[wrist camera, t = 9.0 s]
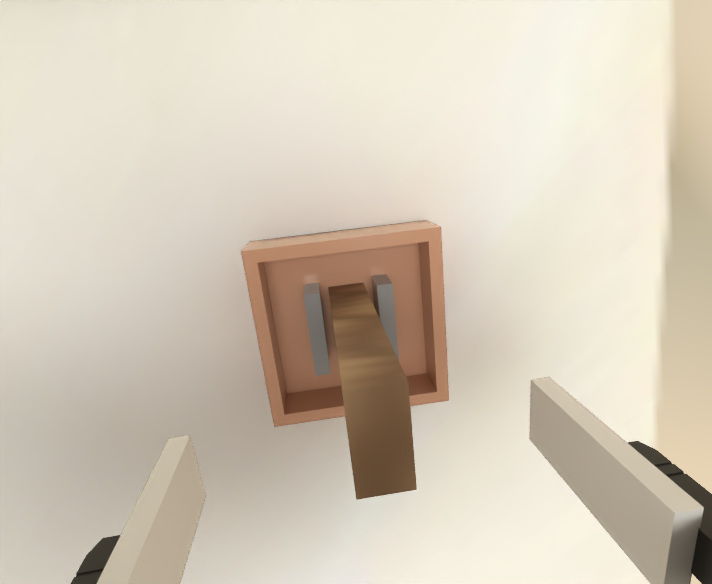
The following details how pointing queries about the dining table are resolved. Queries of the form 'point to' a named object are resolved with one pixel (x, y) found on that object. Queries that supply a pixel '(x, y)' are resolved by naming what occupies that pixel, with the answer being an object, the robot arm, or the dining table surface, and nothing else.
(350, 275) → the square slotted tray
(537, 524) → the dining table surface
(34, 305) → the dining table surface
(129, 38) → the dining table surface
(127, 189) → the dining table surface
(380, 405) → the tapered wooden plank
